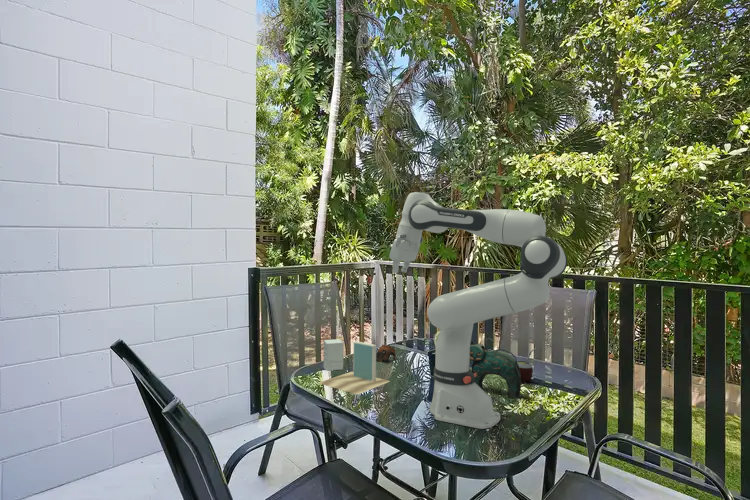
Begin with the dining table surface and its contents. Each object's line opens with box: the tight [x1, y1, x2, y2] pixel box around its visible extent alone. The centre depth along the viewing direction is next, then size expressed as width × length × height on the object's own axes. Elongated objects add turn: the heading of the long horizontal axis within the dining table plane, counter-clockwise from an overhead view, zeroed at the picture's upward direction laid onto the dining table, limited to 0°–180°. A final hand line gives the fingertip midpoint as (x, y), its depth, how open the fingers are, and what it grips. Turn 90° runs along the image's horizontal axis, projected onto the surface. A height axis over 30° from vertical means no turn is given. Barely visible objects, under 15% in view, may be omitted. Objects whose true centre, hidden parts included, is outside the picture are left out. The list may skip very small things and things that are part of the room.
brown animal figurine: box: [376, 344, 397, 363], centre depth 202 cm, size 12×10×8 cm
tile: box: [352, 341, 377, 382], centre depth 170 cm, size 10×2×14 cm, turn 52°
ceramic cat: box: [470, 337, 522, 399], centre depth 160 cm, size 20×6×20 cm, turn 53°
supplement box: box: [323, 338, 344, 372], centre depth 185 cm, size 7×7×13 cm
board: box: [318, 371, 391, 395], centre depth 165 cm, size 20×20×1 cm
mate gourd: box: [517, 347, 537, 385], centre depth 171 cm, size 8×8×15 cm
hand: (399, 272), depth 156 cm, fingers open, 8 cm apart
